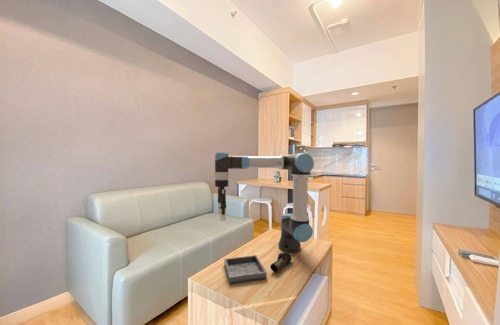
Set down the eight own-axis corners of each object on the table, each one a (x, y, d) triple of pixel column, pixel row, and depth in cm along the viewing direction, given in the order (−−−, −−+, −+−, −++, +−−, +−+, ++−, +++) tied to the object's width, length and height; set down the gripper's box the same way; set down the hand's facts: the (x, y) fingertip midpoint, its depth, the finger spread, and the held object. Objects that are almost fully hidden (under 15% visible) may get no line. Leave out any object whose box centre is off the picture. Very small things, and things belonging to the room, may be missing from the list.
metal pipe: (277, 274, 105) (278, 263, 105) (267, 269, 109) (267, 259, 109) (293, 262, 118) (293, 252, 118) (283, 258, 123) (283, 249, 123)
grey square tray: (256, 261, 120) (256, 255, 120) (266, 279, 101) (266, 272, 101) (224, 265, 115) (224, 258, 115) (229, 284, 96) (229, 277, 96)
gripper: (213, 177, 123) (213, 212, 123) (217, 181, 99) (216, 224, 99) (225, 177, 125) (225, 211, 125) (231, 181, 101) (231, 223, 101)
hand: (221, 217), depth 112 cm, fingers open, 13 cm apart
